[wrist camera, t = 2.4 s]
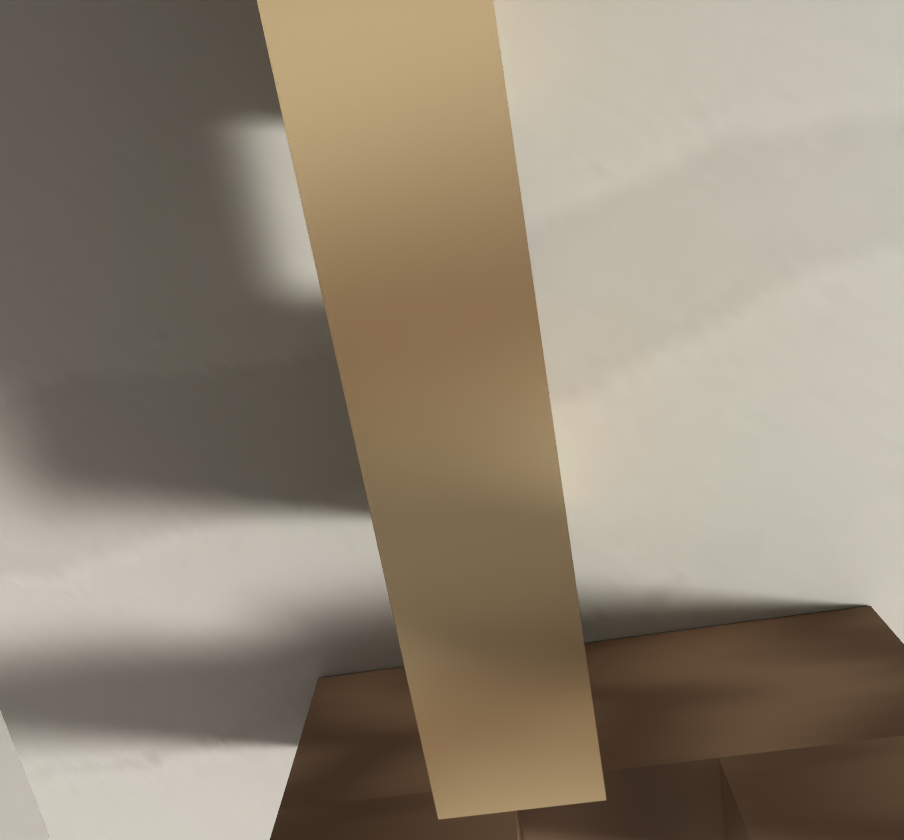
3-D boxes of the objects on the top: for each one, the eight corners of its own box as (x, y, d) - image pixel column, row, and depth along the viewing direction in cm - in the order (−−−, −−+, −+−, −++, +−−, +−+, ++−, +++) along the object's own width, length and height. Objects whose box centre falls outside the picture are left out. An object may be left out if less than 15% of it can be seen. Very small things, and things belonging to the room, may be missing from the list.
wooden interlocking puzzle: (331, -144, 17) (137, -538, 7) (447, -168, 16) (407, -609, 7) (455, 520, 21) (437, 819, 12) (547, 506, 21) (606, 800, 11)
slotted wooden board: (336, 748, 23) (242, 1153, 14) (318, 678, 23) (205, 1054, 13) (871, 682, 22) (1164, 1075, 13) (870, 605, 22) (1180, 962, 12)
